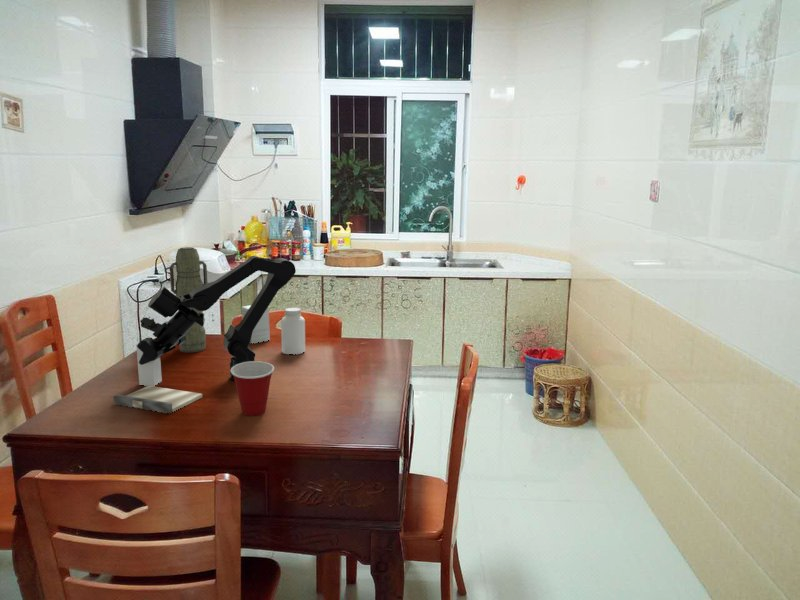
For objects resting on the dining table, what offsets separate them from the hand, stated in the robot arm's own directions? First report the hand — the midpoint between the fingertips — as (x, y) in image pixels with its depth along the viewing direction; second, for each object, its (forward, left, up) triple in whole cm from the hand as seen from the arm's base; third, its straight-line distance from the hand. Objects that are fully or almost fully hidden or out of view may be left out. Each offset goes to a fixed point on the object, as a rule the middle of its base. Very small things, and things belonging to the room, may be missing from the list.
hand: (144, 361), depth 181 cm
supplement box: (-3, -52, -7) cm, 53 cm away
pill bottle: (-23, -44, -7) cm, 51 cm away
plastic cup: (-41, +8, -7) cm, 43 cm away
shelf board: (-13, +10, -7) cm, 18 cm away
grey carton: (-1, 0, -7) cm, 7 cm away
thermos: (+11, -34, -7) cm, 37 cm away
